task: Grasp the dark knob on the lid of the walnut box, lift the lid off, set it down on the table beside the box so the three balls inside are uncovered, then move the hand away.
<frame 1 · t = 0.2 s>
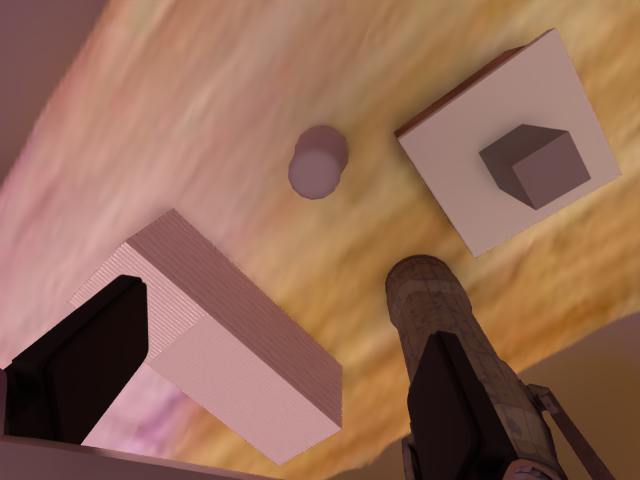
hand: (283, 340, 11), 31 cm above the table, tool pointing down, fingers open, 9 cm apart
salt shaker: (322, 151, 39), on the table
stack of papers: (239, 313, 49), on the table
lid: (504, 155, 31), point 7 cm above the table, touching box
box: (476, 145, 38), on the table
thermos: (419, 283, 45), on the table
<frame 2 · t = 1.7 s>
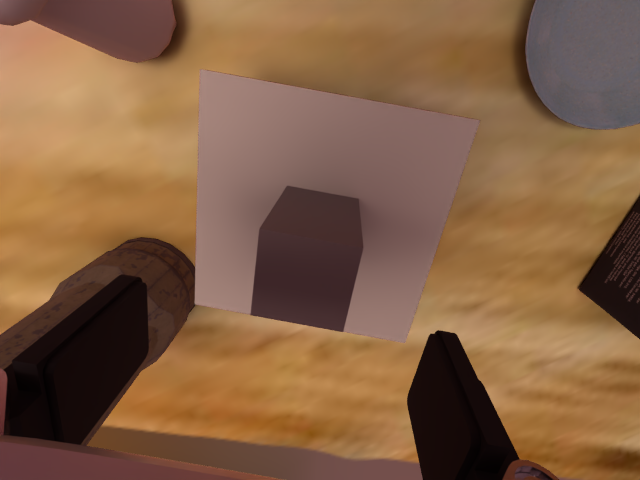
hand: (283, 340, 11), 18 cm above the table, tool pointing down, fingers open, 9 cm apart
salt shaker: (148, 17, 24), on the table
lid: (318, 218, 21), point 7 cm above the table, touching box
saucer: (605, 30, 22), on the table
thermos: (156, 279, 32), on the table
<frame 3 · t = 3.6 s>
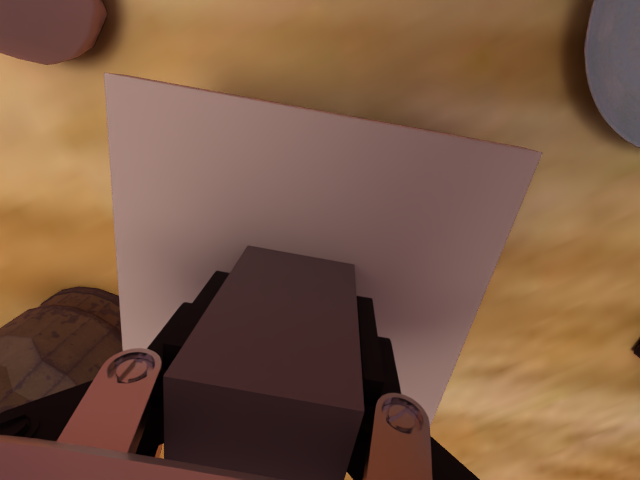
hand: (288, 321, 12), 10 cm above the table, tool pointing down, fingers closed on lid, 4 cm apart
salt shaker: (69, 5, 18), on the table
lid: (297, 285, 15), point 7 cm above the table, touching box, gripper
thermos: (101, 336, 26), on the table
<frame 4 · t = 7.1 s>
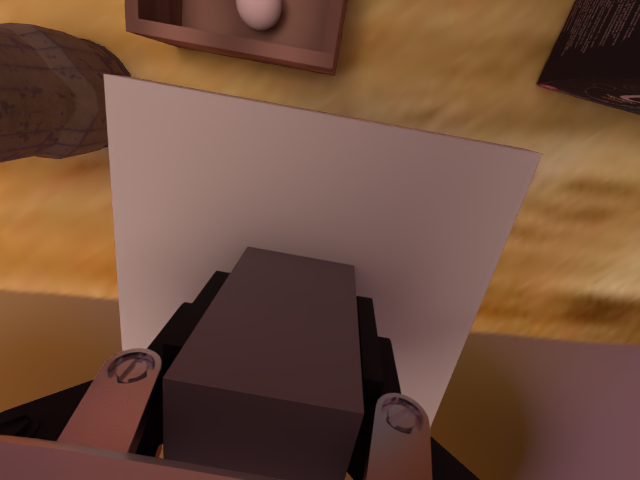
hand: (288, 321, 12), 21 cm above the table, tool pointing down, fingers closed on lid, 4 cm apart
lid: (297, 286, 15), point 18 cm above the table, touching gripper
ball c: (264, 9, 26), point 1 cm above the table, touching box
tampon box: (629, 40, 26), on the table
thermos: (91, 96, 30), on the table
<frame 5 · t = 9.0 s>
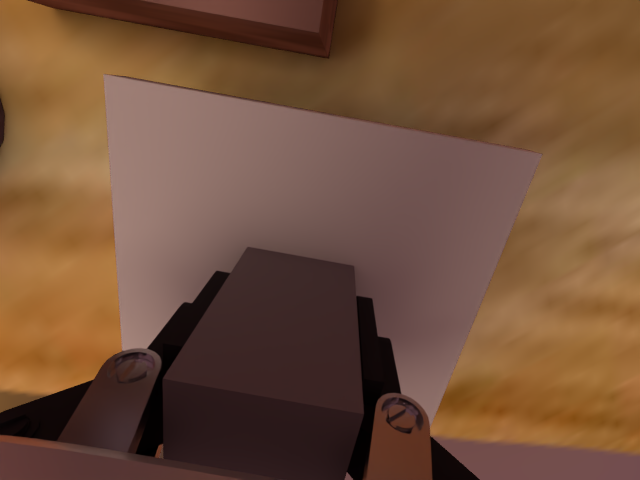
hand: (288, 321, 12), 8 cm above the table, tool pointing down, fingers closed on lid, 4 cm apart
lid: (297, 286, 15), point 5 cm above the table, touching gripper
when the fingers open (4 cm above the table, at t = 10.7 s): lid drops 2 cm, on the table.
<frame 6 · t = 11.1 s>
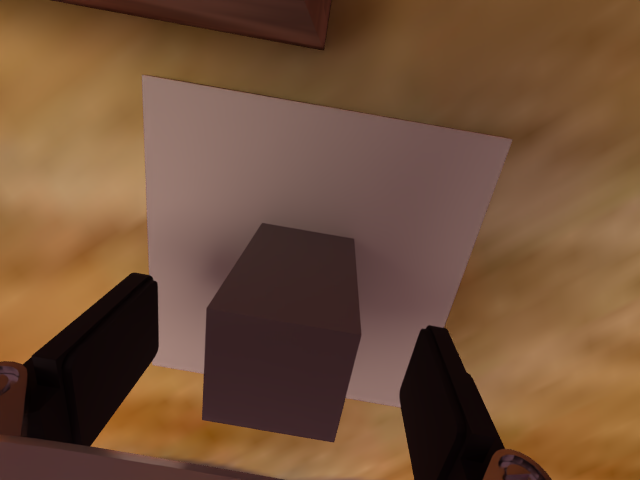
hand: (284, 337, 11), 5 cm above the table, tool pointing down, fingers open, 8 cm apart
lid: (304, 260, 17), on the table
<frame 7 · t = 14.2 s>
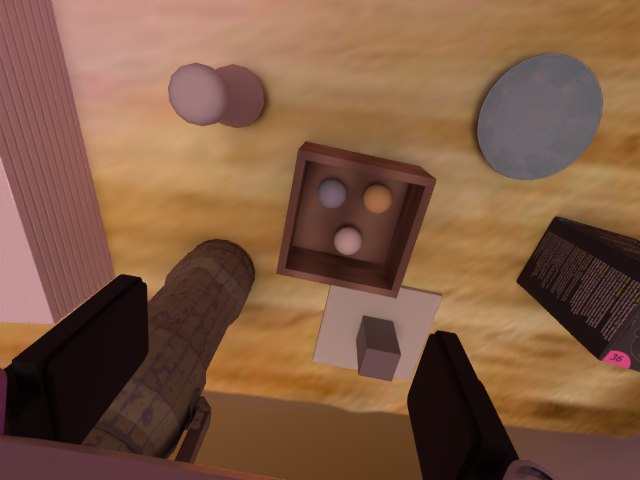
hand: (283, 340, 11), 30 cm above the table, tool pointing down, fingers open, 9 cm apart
ball b: (332, 190, 39), point 1 cm above the table, touching box
salt shaker: (241, 97, 37), on the table
stack of papers: (44, 151, 40), on the table
lid: (373, 325, 47), on the table
box: (349, 209, 41), on the table
saucer: (526, 119, 36), on the table
ball c: (347, 235, 41), point 1 cm above the table, touching box
ball a: (376, 195, 39), point 1 cm above the table, touching box
tampon box: (573, 260, 42), on the table
thermos: (222, 269, 45), on the table
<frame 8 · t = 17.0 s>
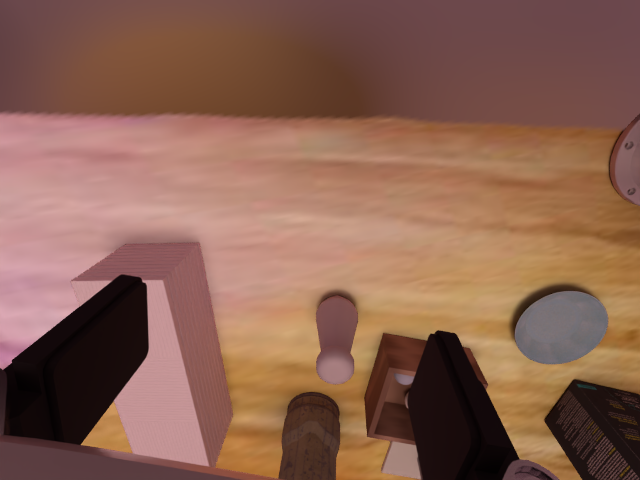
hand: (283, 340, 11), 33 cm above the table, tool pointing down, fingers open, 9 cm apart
ball b: (403, 365, 52), point 1 cm above the table, touching box
salt shaker: (337, 306, 50), on the table
stack of papers: (186, 336, 54), on the table
lid: (429, 446, 60), on the table
box: (414, 374, 54), on the table
saucer: (550, 319, 49), on the table
tampon box: (588, 406, 54), on the table
thermos: (314, 410, 58), on the table
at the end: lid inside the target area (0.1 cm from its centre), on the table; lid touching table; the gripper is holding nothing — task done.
